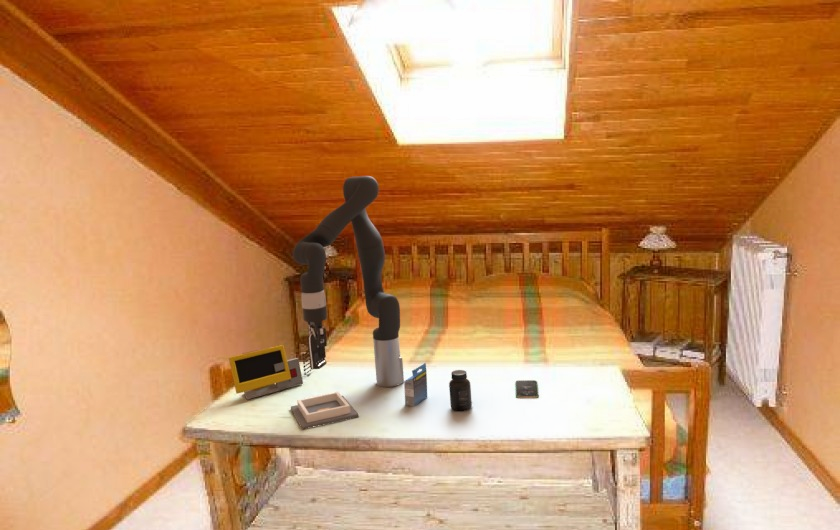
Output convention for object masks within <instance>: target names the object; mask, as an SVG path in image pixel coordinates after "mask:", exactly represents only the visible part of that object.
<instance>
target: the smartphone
mask: <svg viewBox="0 0 840 530" xmlns="http://www.w3.org/2000/svg"><path fill="white" fill-rule="evenodd" d="M514 385H515V398H517V399H539V397H540V394H539V384H538V381H537V380H533V379H531V380H524V379H523V380H516V381H515V384H514Z"/></svg>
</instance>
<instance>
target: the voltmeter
mask: <svg viewBox="0 0 840 530" xmlns="http://www.w3.org/2000/svg"><path fill="white" fill-rule="evenodd" d="M307 354H308V355H307ZM301 355H302V359H303V365H302V366H303V372H304V376H306V375H307V377H309V376H311V373H309V372H311V371H312V370H314V369H310V358H309V350H308V351H307V352H304V353H302V354H301ZM306 355H307V356H306ZM304 356H305V357H304ZM307 358H308V359H307ZM305 359H306V360H305ZM308 361H309V362H308ZM287 363H288V367H289V371H290V375H291V379H289V380H286V381H282V382H278V383H275V384H276V387H277V388H278V390H280V391H283V390H285V389H286V390H287V389H289V388H292V387H295V386H299V385H302V384H303V385H304V381H303V376H302V371H301V364H300V360H299V358H298V357H296V358H291V359H290V358H289V359H287ZM305 363H307V364H305ZM308 365H309V366H308ZM274 367H275V371H276V372H277V371H280V370H283V369H285V366H284V362H282V363H278V364H274ZM308 369H309V370H308ZM306 370H308V371H306ZM282 389H283V390H282Z"/></svg>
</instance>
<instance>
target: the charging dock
mask: <svg viewBox="0 0 840 530" xmlns="http://www.w3.org/2000/svg"><path fill="white" fill-rule="evenodd" d="M296 402H297V405H296V404H295V405H291V406H290V410H291V412H292V413H294V414H293V416H295V417H294V418H295V419H296V418H297V419H296V421H297V420H298V421H297V422H298V423H299V426H300V425H301V426H300V428H301V429H302V428H303V429H302V430H305V429H304V428H307V429H309V428H308V427H312V428H314V427H313V426H316V427H319V426H318V425H321V426H324V425H323V424H325V425H328V423H329V424H332V422H334V423H338V422H343V421H346V419H347V420H351V419H355V418H359V417H360V416H359V413H358V412H357V410H356V409H355V408H354V406H352V405H351V403H350V402H349V401H348V399H346V398H345V397H344V395H341V393H340V392H339V391H334V392H329V393H324V394H320V395H316V396H309V397H307V398H302V399H301V398H300V399H297V400H296ZM350 418H351V419H350ZM337 421H338V422H337Z"/></svg>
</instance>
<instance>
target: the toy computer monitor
mask: <svg viewBox="0 0 840 530" xmlns="http://www.w3.org/2000/svg"><path fill="white" fill-rule="evenodd" d="M284 346H285V345H284V344H281V345H277V346H272V347H270V346H267V347H262V348H260V349H255V350H249V351H246V352H242V353H241V354H238V355H234V356H229V357H228V361H229V366H230V371H231V375H232V380H233V384H234V388H235V393H236V394H242V393H244V396H245V398H246V400H251V399H254V398H257V397H262V396H265V395H268V394H269V395H270V394H272V393H275V392H280V391H283V390H284V389H282V390H278V388H277V387H276V383H278V382H282V381H286V380H289V379H291V375H290V371H289V367H288V363H287V360H288V357H287V354H286V350H285V347H284ZM282 362H284V366H285V369H283V370H280V371H277V372H276V371H275V367H274V364H278V363H282Z"/></svg>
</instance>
